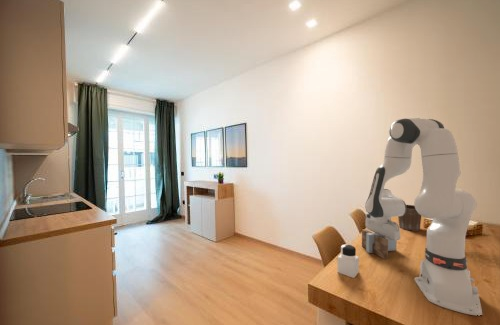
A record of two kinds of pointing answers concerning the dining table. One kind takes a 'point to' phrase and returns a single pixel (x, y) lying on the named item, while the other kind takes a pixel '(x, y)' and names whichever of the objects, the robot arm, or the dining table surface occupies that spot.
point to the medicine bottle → (348, 261)
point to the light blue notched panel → (371, 239)
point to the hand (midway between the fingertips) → (381, 242)
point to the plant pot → (410, 219)
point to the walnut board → (377, 244)
